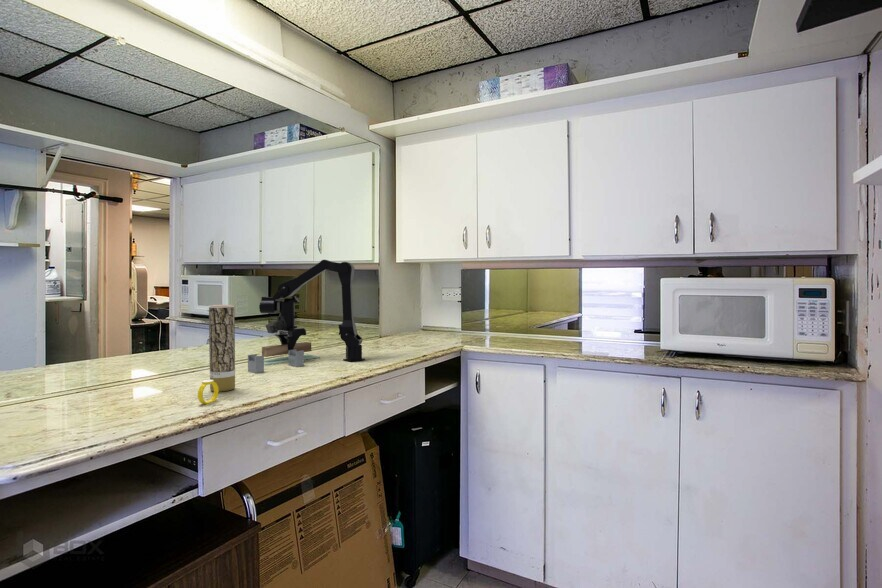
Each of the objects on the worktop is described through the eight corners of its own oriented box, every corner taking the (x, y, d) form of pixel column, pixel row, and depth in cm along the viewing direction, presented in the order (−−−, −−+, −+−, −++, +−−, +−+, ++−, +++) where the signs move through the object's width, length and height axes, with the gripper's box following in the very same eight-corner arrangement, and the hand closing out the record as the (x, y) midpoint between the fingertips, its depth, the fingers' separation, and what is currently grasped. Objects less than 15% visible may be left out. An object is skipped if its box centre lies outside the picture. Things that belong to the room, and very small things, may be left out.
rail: (311, 350, 197) (311, 342, 196) (266, 356, 182) (266, 347, 181) (306, 350, 199) (306, 341, 199) (261, 355, 184) (261, 346, 184)
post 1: (264, 372, 166) (263, 355, 166) (255, 373, 164) (255, 356, 164) (256, 370, 170) (255, 354, 170) (247, 371, 168) (247, 355, 167)
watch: (204, 407, 121) (203, 384, 121) (195, 406, 122) (194, 383, 122) (221, 399, 127) (220, 378, 127) (213, 398, 128) (211, 377, 127)
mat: (319, 358, 196) (319, 356, 196) (265, 365, 178) (265, 364, 178) (307, 355, 202) (307, 354, 202) (253, 362, 184) (253, 361, 184)
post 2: (303, 365, 178) (303, 350, 178) (296, 367, 176) (296, 351, 176) (295, 364, 182) (295, 349, 182) (288, 365, 180) (288, 350, 179)
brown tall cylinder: (225, 392, 135) (224, 306, 135) (204, 391, 137) (203, 305, 136) (240, 387, 142) (239, 304, 141) (220, 386, 143) (219, 304, 143)
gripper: (256, 313, 190) (257, 352, 190) (281, 315, 178) (281, 356, 178) (282, 312, 198) (282, 349, 199) (306, 314, 186) (307, 353, 186)
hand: (287, 352), depth 190 cm, fingers closed on rail, 3 cm apart
